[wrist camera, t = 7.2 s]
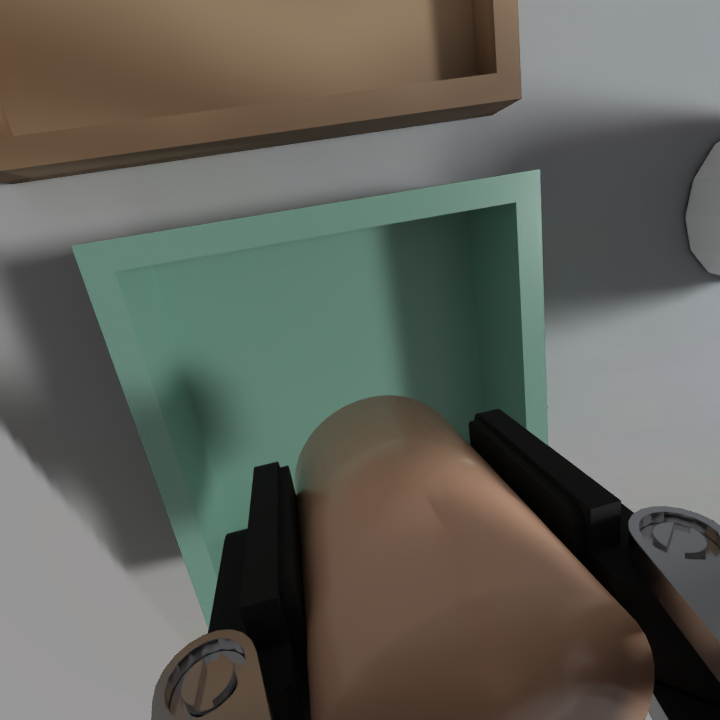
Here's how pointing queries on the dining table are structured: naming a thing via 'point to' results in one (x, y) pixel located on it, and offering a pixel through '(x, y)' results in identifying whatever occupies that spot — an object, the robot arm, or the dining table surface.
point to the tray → (237, 75)
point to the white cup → (706, 213)
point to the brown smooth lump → (447, 585)
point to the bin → (316, 333)
